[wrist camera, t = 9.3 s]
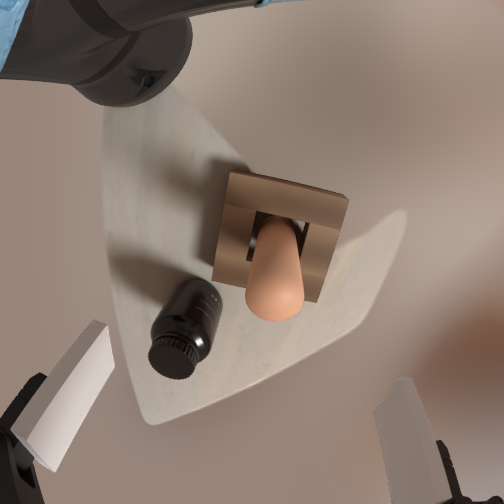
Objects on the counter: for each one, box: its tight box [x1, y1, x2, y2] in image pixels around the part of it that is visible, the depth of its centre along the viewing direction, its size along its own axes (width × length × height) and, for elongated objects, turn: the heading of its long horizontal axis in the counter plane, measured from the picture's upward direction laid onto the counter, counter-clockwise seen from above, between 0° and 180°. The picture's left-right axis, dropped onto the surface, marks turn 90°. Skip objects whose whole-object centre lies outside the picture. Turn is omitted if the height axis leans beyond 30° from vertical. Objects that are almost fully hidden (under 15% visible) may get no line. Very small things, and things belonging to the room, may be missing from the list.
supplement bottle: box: [148, 279, 223, 380], centre depth 31 cm, size 7×7×12 cm
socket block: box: [212, 169, 349, 303], centre depth 31 cm, size 12×12×3 cm
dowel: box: [245, 215, 304, 321], centre depth 26 cm, size 4×4×14 cm
